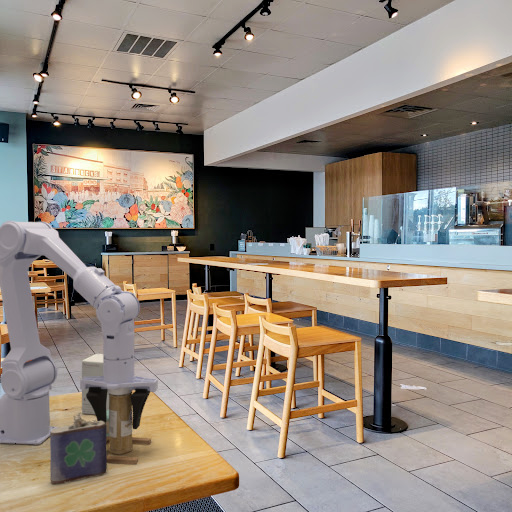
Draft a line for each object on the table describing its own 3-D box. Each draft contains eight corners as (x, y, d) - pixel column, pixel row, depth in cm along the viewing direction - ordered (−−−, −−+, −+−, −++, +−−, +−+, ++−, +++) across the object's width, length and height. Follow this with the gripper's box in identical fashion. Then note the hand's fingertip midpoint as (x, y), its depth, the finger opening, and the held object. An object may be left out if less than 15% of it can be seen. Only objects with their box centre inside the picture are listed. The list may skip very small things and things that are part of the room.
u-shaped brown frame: (84, 462, 91) (84, 457, 91) (104, 440, 101) (104, 436, 101) (135, 464, 90) (135, 460, 90) (151, 442, 100) (151, 438, 100)
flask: (51, 486, 82) (50, 422, 82) (49, 478, 85) (49, 416, 85) (108, 474, 87) (107, 414, 86) (105, 467, 89) (104, 408, 89)
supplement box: (80, 414, 115) (80, 360, 114) (97, 403, 122) (97, 352, 121) (110, 417, 113) (109, 362, 112) (125, 406, 120) (125, 354, 120)
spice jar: (133, 453, 95) (133, 384, 94) (108, 456, 93) (108, 386, 93) (132, 443, 99) (132, 377, 98) (108, 446, 98) (108, 378, 97)
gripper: (72, 360, 91) (73, 433, 92) (150, 363, 90) (150, 436, 91) (88, 351, 98) (89, 419, 99) (160, 353, 97) (160, 421, 98)
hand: (119, 426), depth 95 cm, fingers open, 6 cm apart
